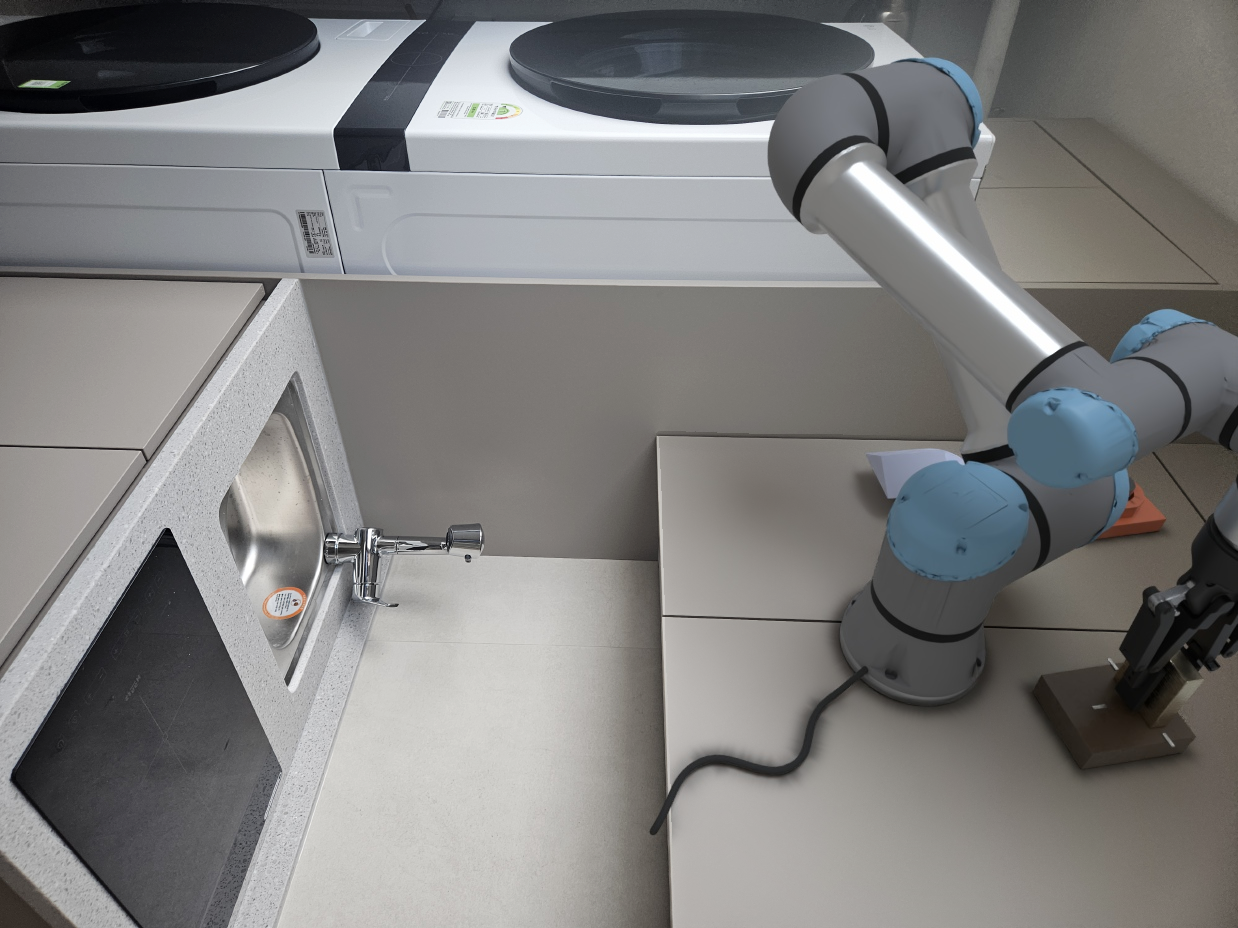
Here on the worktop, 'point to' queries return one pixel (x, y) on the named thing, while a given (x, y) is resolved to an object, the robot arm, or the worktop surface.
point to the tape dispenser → (904, 465)
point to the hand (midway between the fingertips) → (1142, 696)
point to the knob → (1168, 690)
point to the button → (1131, 486)
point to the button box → (1136, 517)
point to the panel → (1104, 719)
